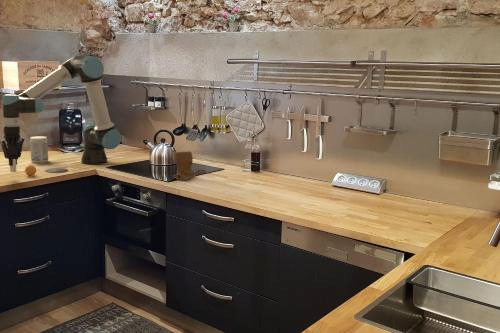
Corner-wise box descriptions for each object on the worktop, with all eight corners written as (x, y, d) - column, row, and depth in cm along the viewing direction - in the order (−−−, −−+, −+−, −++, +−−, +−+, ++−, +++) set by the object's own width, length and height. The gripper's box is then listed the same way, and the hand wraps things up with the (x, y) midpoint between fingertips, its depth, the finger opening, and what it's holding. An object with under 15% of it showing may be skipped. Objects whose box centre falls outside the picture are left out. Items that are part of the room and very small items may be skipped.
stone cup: (181, 174, 295) (181, 148, 292) (199, 177, 290) (200, 150, 287) (166, 179, 281) (167, 152, 278) (186, 182, 277) (186, 154, 274)
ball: (35, 174, 280) (35, 164, 278) (37, 176, 275) (36, 166, 274) (24, 174, 277) (24, 164, 276) (25, 176, 272) (25, 166, 271)
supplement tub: (45, 159, 318) (44, 135, 315) (50, 162, 311) (49, 137, 308) (28, 161, 312) (27, 136, 309) (33, 163, 305) (32, 138, 302)
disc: (66, 167, 298) (66, 167, 298) (69, 172, 288) (69, 171, 288) (43, 169, 293) (43, 168, 293) (46, 173, 282) (46, 173, 282)
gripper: (4, 127, 255) (6, 174, 259) (27, 125, 266) (29, 170, 270) (-5, 125, 258) (-3, 172, 263) (18, 124, 269) (19, 168, 274)
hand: (13, 171), depth 266 cm, fingers closed
